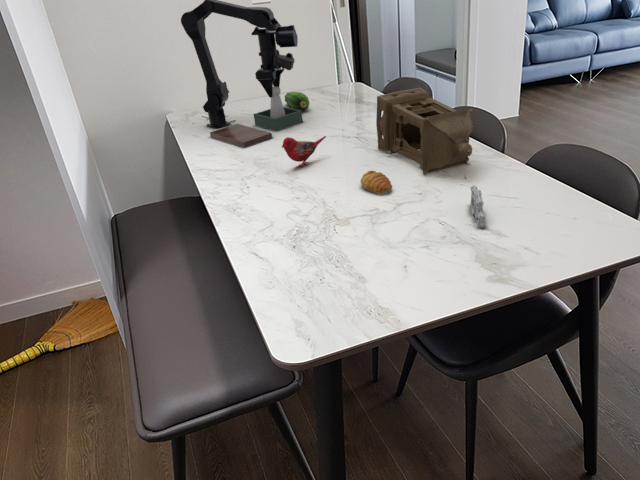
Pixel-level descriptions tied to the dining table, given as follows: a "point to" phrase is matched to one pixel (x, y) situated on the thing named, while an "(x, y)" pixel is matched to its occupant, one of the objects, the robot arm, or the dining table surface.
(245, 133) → the serving board
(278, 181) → the dining table surface
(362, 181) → the pastry
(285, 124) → the green square tray
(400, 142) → the brown lantern
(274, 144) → the dining table surface
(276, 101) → the salt shaker
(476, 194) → the garden wall model
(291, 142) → the decorative bird figurine
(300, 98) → the vegetable
